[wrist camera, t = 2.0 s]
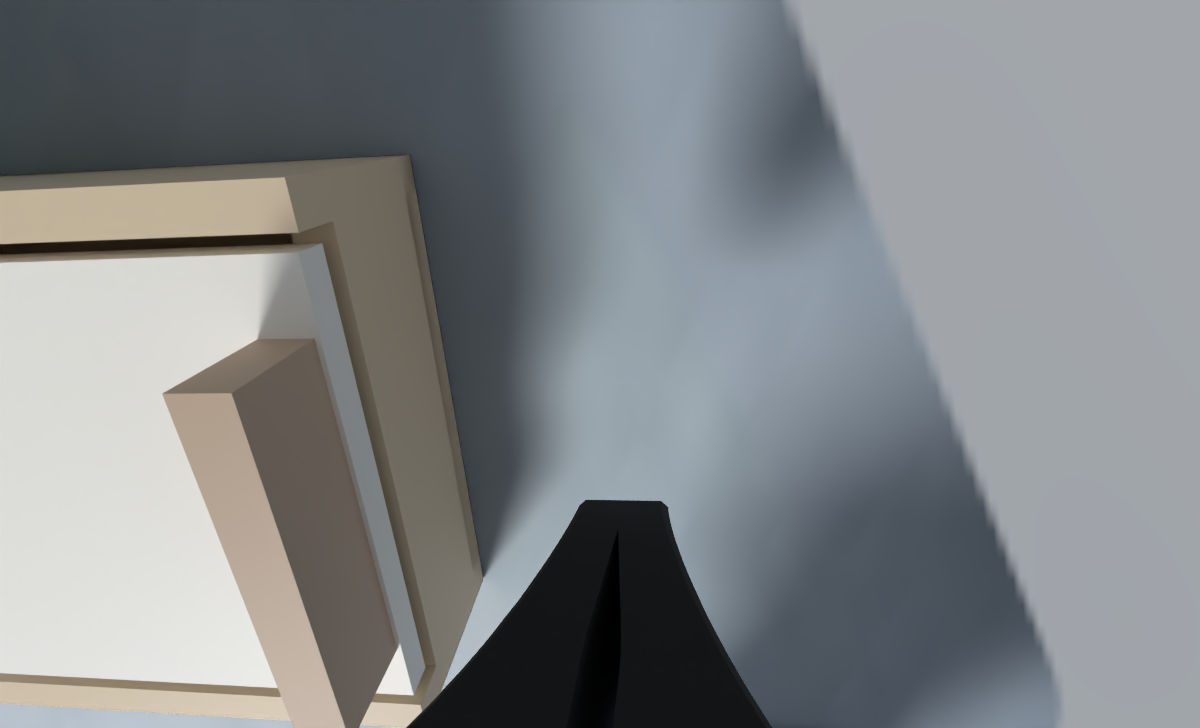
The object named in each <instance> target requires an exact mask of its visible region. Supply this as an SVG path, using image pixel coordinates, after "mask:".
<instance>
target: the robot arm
mask: <svg viewBox="0 0 1200 728" xmlns="http://www.w3.org/2000/svg"><path fill="white" fill-rule="evenodd" d="M406 728H772V727H771V726H770V724H769V722H768V721H767V719H766V718H765V716H764V715H763V713H762V711H761V710H760V708H759V707H758V705H757V703H756V702H755V700H754V699H753V697H752V695H751V694H750V692H749V691H748V689H747V687H746V686H745V684H744V682H743V681H742V679H741V677H740V675H739V674H738V672H737V670H736V669H735V667H734V665H733V663H732V662H731V660H730V658H729V656H728V654H727V652H726V651H725V649H724V647H723V645H722V643H721V641H720V639H719V638H718V636H717V634H716V632H715V630H714V628H713V626H712V624H711V622H710V620H709V618H708V616H707V614H706V612H705V610H704V608H703V606H702V604H701V602H700V599H699V597H698V595H697V593H696V591H695V588H694V586H693V584H692V582H691V580H690V577H689V575H688V573H687V570H686V568H685V565H684V563H683V560H682V558H681V555H680V552H679V549H678V546H677V544H676V541H675V537H674V534H673V531H672V527H671V523H670V518H669V513H668V507H667V506H666V505H665V504H664V503H663V502H662V501H622V500H585V501H584V502H583V503H582V504H581V505H580V506H579V508H578V510H577V512H576V514H575V515H574V517H573V519H572V521H571V523H570V524H569V526H568V528H567V529H566V531H565V533H564V534H563V536H562V538H561V539H560V541H559V542H558V544H557V546H556V547H555V549H554V550H553V552H552V553H551V555H550V557H549V558H548V559H547V561H546V562H545V564H544V565H543V567H542V568H541V570H540V571H539V572H538V574H537V575H536V577H535V578H534V580H533V581H532V582H531V584H530V585H529V587H528V588H527V590H526V591H525V592H524V594H523V595H522V596H521V598H520V599H519V601H518V602H517V603H516V604H515V606H514V607H513V608H512V609H511V611H510V612H509V613H508V614H507V616H506V617H505V618H504V620H503V621H502V622H501V623H500V625H499V626H498V627H497V628H496V630H495V631H494V632H493V634H492V635H491V636H490V637H489V639H488V640H487V641H486V642H485V643H484V645H483V646H482V647H481V648H480V649H479V650H478V652H477V653H476V654H475V655H474V656H473V657H472V659H471V660H470V661H469V662H468V663H467V664H466V665H465V667H464V668H463V669H462V670H461V671H460V672H459V673H458V674H457V675H456V677H455V678H454V679H453V680H452V681H451V682H450V683H449V684H448V685H447V686H446V687H445V688H444V689H443V691H442V692H441V693H440V694H439V695H438V696H437V697H436V698H435V699H434V700H433V701H432V702H431V703H430V704H429V705H428V706H427V707H426V708H425V709H424V710H423V711H422V712H421V713H420V714H419V715H418V716H417V717H416V718H415V719H414V720H413V721H412V722H411V723H410V724H409V725H408V726H407V727H406Z"/></svg>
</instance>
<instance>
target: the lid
mask: <svg viewBox="0 0 1200 728" xmlns="http://www.w3.org/2000/svg"><path fill="white" fill-rule="evenodd" d="M425 668H426V667H425V663H424V659H423V655H422V651H421V647H420V643H419V639H418V634H417V630H416V626H415V622H414V618H413V614H412V610H411V606H410V602H409V598H408V593H407V589H406V585H405V581H404V577H403V573H402V569H401V565H400V561H399V556H398V552H397V548H396V544H395V540H394V536H393V532H392V528H391V524H390V519H389V515H388V511H387V507H386V503H385V499H384V495H383V491H382V487H381V482H380V478H379V474H378V470H377V466H376V462H375V458H374V454H373V450H372V446H371V441H370V437H369V433H368V429H367V425H366V421H365V417H364V413H363V409H362V404H361V400H360V396H359V392H358V388H357V384H356V380H355V376H354V372H353V367H352V363H351V359H350V355H349V351H348V347H347V343H346V339H345V335H344V331H343V326H342V322H341V318H340V314H339V310H338V306H337V302H336V298H335V294H334V289H333V285H332V281H331V277H330V273H329V269H328V265H327V261H326V257H325V252H324V248H323V244H322V243H312V244H284V245H256V246H228V247H200V248H172V249H144V250H115V251H87V252H59V253H31V254H3V255H0V673H7V674H25V675H44V676H62V677H81V678H100V679H118V680H137V681H155V682H174V683H192V684H211V685H230V686H248V687H267V688H278V690H279V692H280V695H281V697H282V700H283V703H284V705H285V708H286V710H287V713H288V715H289V718H290V720H291V723H292V725H293V728H359V726H360V724H361V722H362V720H363V718H364V716H365V714H366V712H367V710H368V708H369V706H370V704H371V702H372V700H373V698H374V696H375V694H376V693H378V694H397V695H414V694H415V691H416V689H417V687H418V684H419V682H420V679H421V677H422V675H423V672H424V670H425Z"/></svg>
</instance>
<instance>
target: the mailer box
mask: <svg viewBox="0 0 1200 728" xmlns="http://www.w3.org/2000/svg"><path fill="white" fill-rule="evenodd" d="M312 243H322V244H323V248H324V252H325V257H326V261H327V265H328V269H329V273H330V277H331V281H332V285H333V289H334V294H335V298H336V302H337V306H338V310H339V314H340V318H341V322H342V326H343V331H344V335H345V339H346V343H347V347H348V351H349V355H350V359H351V363H352V367H353V372H354V376H355V380H356V384H357V388H358V392H359V396H360V400H361V404H362V409H363V413H364V417H365V421H366V425H367V429H368V433H369V437H370V441H371V446H372V450H373V454H374V458H375V462H376V466H377V470H378V474H379V478H380V482H381V487H382V491H383V495H384V499H385V503H386V507H387V511H388V515H389V519H390V524H391V528H392V532H393V536H394V540H395V544H396V548H397V552H398V556H399V561H400V565H401V569H402V573H403V577H404V581H405V585H406V589H407V593H408V598H409V602H410V606H411V610H412V614H413V618H414V622H415V626H416V630H417V634H418V639H419V643H420V647H421V651H422V655H423V659H424V663H425V667H426V668H425V670H424V672H423V675H422V677H421V679H420V682H419V684H418V687H417V689H416V691H415V694H414V695H397V694H378V693H376V694H375V696H374V698H373V700H372V702H371V704H370V706H369V708H368V710H367V712H366V714H365V716H364V718H363V720H362V722H361V724H360V725H368V726H384V727H401V728H406V727H407V726H408V725H409V724H410V723H411V722H412V721H413V720H414V719H415V718H416V717H417V716H418V715H419V714H420V713H421V712H422V711H423V710H424V709H425V708H426V707H427V706H428V705H429V704H430V703H431V702H432V701H433V700H434V699H435V698H436V697H437V696H438V695H439V694H440V693H441V690H442V687H443V685H444V682H445V679H446V677H447V674H448V671H449V669H450V666H451V664H452V661H453V658H454V656H455V653H456V650H457V648H458V645H459V642H460V640H461V637H462V634H463V632H464V629H465V627H466V624H467V621H468V619H469V616H470V613H471V611H472V608H473V605H474V603H475V600H476V597H477V595H478V592H479V589H480V587H481V584H482V582H483V575H482V569H481V563H480V558H479V552H478V546H477V540H476V535H475V529H474V523H473V517H472V511H471V506H470V500H469V494H468V488H467V483H466V477H465V471H464V465H463V459H462V454H461V448H460V442H459V436H458V431H457V425H456V419H455V413H454V408H453V402H452V396H451V390H450V384H449V379H448V373H447V367H446V361H445V356H444V350H443V344H442V338H441V332H440V327H439V321H438V315H437V309H436V304H435V298H434V292H433V286H432V280H431V275H430V269H429V263H428V257H427V252H426V246H425V240H424V234H423V228H422V223H421V217H420V211H419V205H418V200H417V194H416V188H415V182H414V177H413V171H412V165H411V159H410V155H395V156H376V157H357V158H338V159H318V160H299V161H280V162H261V163H242V164H223V165H204V166H185V167H166V168H147V169H127V170H108V171H89V172H70V173H51V174H32V175H13V176H0V255H3V254H31V253H59V252H87V251H115V250H144V249H172V248H200V247H228V246H256V245H284V244H312ZM0 703H2V704H19V705H36V706H52V707H69V708H85V709H102V710H119V711H135V712H152V713H168V714H185V715H202V716H218V717H235V718H251V719H268V720H285V721H291V720H290V718H289V715H288V713H287V710H286V708H285V705H284V703H283V700H282V697H281V695H280V692H279V690H278V688H267V687H248V686H230V685H211V684H192V683H174V682H155V681H137V680H118V679H100V678H81V677H62V676H44V675H25V674H7V673H0Z"/></svg>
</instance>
